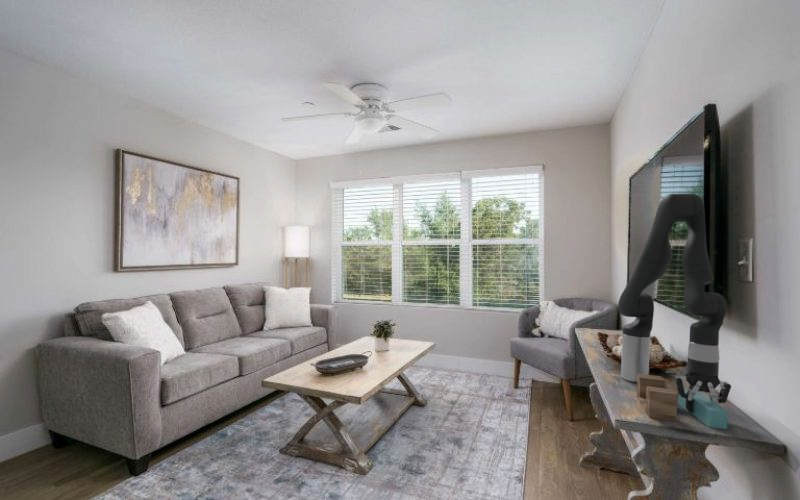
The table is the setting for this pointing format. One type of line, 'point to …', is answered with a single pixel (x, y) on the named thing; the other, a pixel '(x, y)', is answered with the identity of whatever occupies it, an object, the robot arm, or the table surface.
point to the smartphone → (670, 372)
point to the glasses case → (706, 411)
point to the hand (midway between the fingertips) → (700, 413)
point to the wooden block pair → (656, 397)
